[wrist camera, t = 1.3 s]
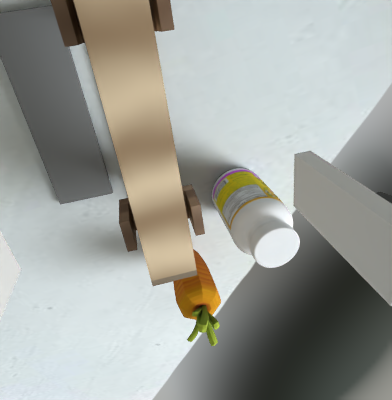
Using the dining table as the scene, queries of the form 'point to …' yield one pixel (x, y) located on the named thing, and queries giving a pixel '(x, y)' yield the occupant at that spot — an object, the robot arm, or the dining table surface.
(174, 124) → the dining table surface
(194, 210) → the rack
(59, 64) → the mat
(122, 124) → the rail
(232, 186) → the supplement bottle
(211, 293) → the carrot
